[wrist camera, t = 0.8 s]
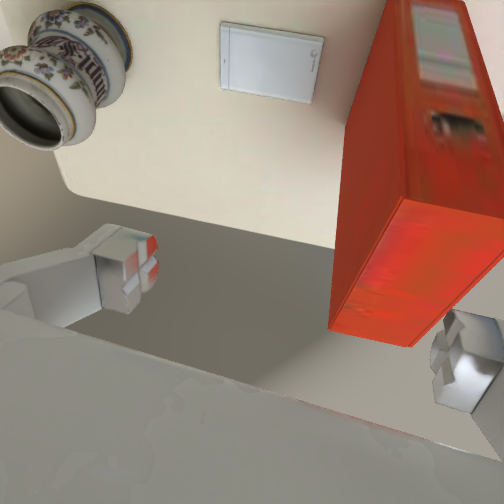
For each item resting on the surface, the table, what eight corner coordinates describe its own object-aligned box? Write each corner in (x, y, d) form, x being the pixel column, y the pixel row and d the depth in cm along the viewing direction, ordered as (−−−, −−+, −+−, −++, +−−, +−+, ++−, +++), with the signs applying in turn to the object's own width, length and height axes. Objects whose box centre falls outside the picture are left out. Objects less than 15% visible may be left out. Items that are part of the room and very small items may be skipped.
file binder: (467, 1, 42) (537, 227, 23) (402, 137, 56) (411, 349, 36) (390, -13, 42) (395, 197, 23) (345, 126, 56) (324, 329, 37)
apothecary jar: (72, 80, 59) (2, 157, 48) (37, -12, 50) (-60, 58, 39) (149, 88, 58) (94, 169, 47) (128, -5, 48) (53, 69, 37)
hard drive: (323, 42, 46) (219, 26, 47) (311, 105, 53) (220, 90, 54) (324, 36, 47) (222, 20, 48) (312, 99, 54) (222, 84, 55)
